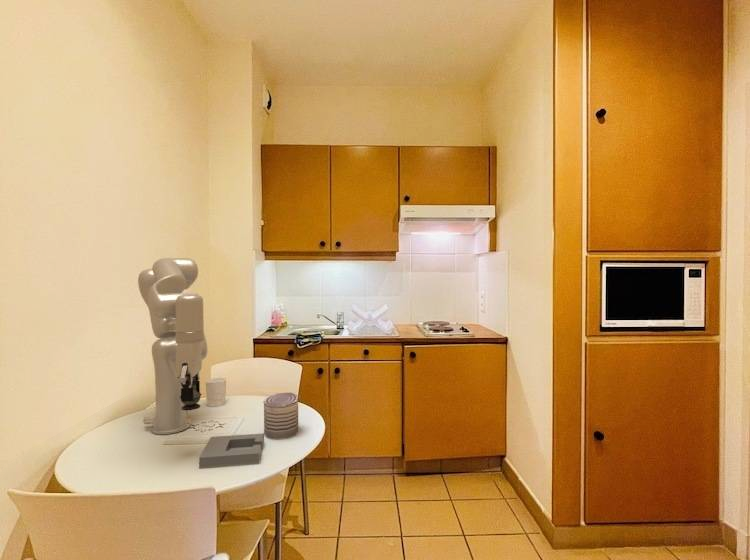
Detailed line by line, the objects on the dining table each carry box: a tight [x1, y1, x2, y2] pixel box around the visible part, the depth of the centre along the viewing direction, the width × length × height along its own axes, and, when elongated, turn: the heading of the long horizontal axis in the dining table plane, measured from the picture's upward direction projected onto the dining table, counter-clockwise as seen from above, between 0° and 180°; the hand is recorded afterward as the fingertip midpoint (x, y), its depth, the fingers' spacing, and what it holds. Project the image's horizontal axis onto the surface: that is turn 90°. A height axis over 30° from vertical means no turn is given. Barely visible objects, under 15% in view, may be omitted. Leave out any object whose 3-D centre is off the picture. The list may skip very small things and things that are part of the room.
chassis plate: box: [198, 432, 265, 469], centre depth 120 cm, size 16×14×3 cm
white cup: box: [205, 376, 227, 408], centre depth 165 cm, size 8×8×10 cm
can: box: [262, 392, 300, 441], centre depth 136 cm, size 11×11×12 cm
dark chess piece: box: [180, 375, 202, 411], centre depth 119 cm, size 6×6×12 cm
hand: (190, 396), depth 119 cm, fingers closed on dark chess piece, 5 cm apart
